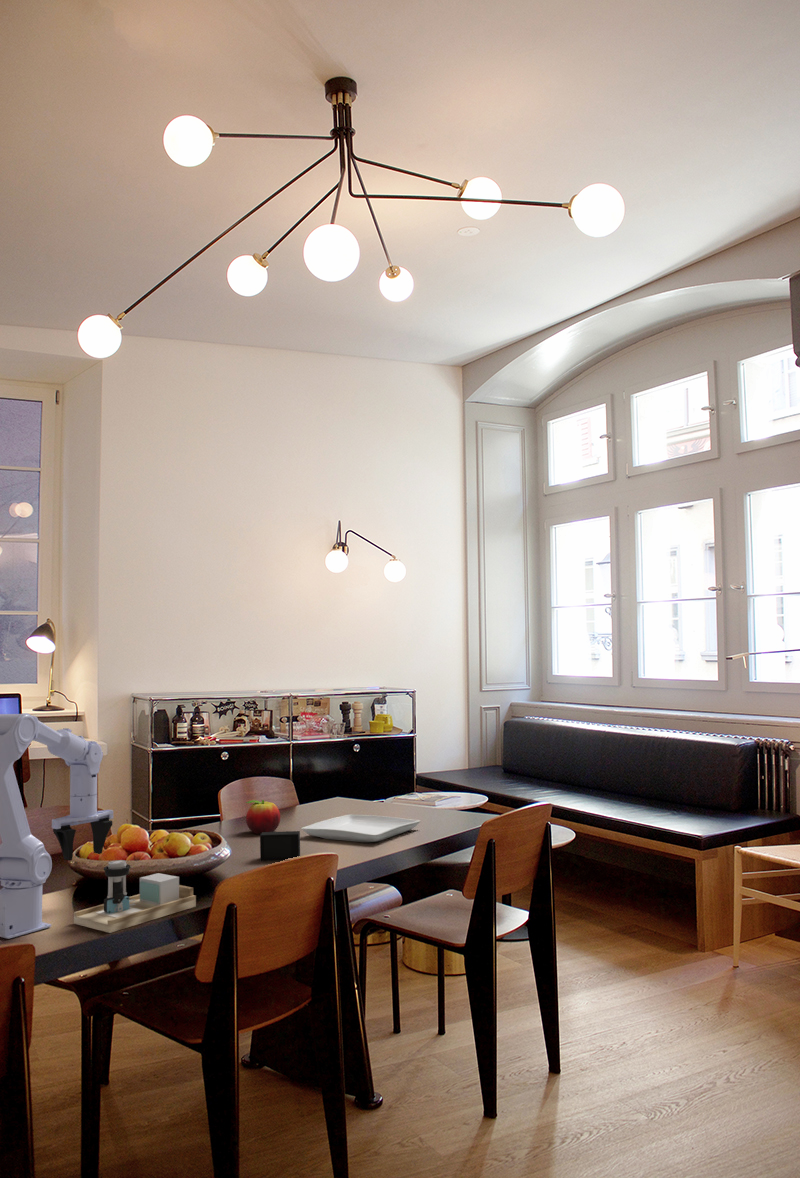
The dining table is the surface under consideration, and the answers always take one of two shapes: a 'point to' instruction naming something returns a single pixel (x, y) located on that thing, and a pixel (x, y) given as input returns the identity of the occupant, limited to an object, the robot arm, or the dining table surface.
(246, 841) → the dining table surface
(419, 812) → the dining table surface
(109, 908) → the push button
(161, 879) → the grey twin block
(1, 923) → the robot arm
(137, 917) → the beige tray
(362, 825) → the square plate
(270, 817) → the fruit
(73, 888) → the dining table surface
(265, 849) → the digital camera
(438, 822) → the dining table surface
